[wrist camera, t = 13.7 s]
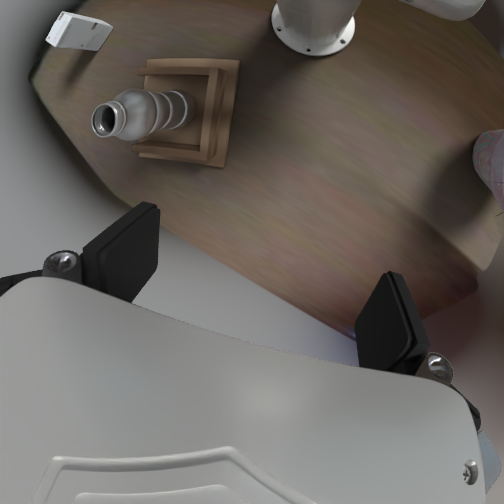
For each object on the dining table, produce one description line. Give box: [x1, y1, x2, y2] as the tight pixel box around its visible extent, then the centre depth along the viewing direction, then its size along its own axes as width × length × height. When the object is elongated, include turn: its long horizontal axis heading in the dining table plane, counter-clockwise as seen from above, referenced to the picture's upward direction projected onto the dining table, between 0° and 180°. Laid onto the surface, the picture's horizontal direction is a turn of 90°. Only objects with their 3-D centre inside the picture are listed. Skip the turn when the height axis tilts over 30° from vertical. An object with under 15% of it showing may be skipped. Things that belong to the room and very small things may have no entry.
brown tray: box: [132, 58, 240, 168], centre depth 38 cm, size 18×16×6 cm
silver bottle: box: [91, 88, 195, 141], centre depth 31 cm, size 6×7×20 cm
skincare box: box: [46, 12, 113, 51], centre depth 29 cm, size 6×4×12 cm
